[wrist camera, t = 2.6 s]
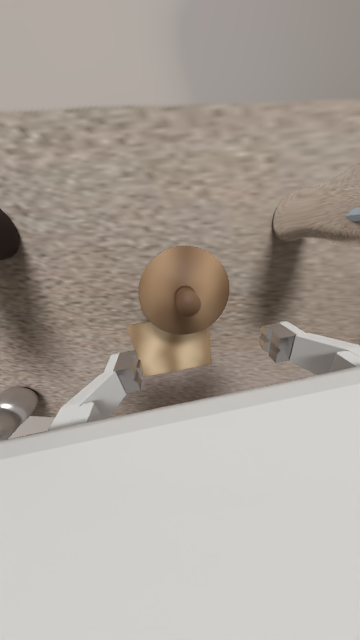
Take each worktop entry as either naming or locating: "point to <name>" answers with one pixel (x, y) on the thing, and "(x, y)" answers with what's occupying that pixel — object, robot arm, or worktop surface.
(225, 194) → the worktop surface
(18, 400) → the plastic bottle
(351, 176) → the beer glass
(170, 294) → the lid
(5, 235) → the vinegar
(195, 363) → the tan flat square piece
